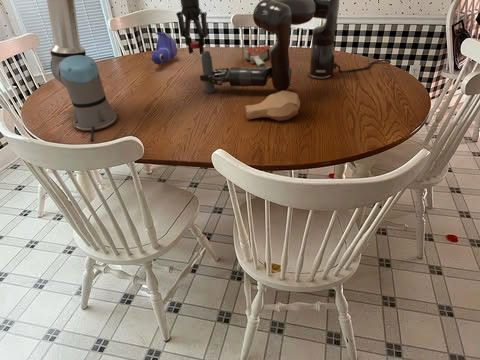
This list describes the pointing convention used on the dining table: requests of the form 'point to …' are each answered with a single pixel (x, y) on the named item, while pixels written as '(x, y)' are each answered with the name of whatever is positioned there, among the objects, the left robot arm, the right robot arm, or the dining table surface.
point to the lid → (194, 44)
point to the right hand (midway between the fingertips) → (202, 76)
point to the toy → (164, 49)
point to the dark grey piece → (207, 70)
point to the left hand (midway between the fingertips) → (196, 52)
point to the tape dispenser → (257, 55)
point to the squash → (275, 106)
